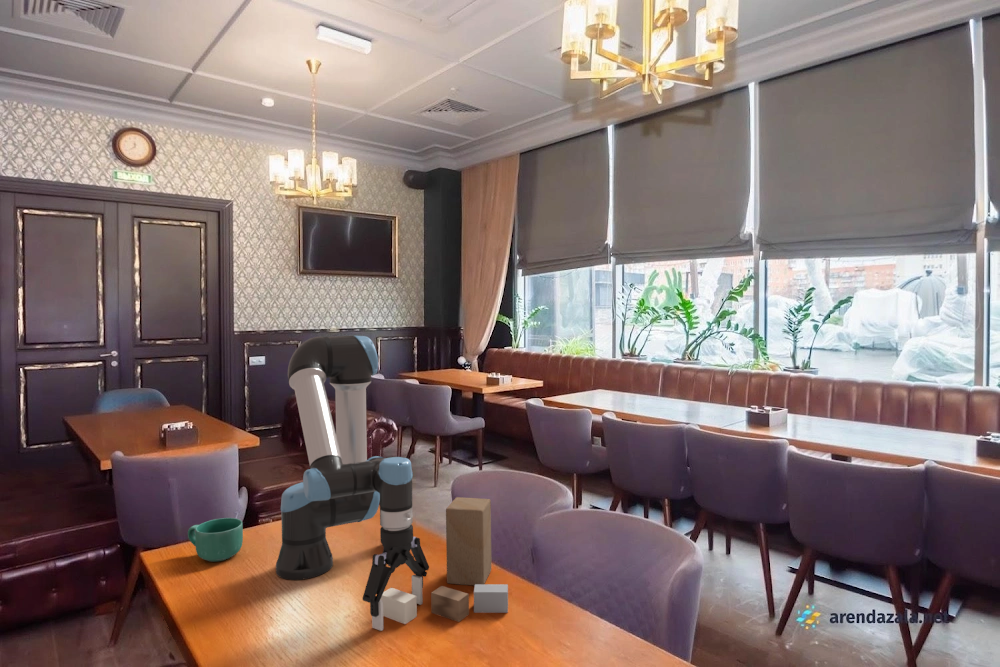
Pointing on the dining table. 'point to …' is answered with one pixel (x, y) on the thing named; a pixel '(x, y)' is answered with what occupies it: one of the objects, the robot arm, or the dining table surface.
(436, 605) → the walnut brick
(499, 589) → the slate brick
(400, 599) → the cream brick
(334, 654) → the dining table surface
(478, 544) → the wooden block
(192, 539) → the mug
